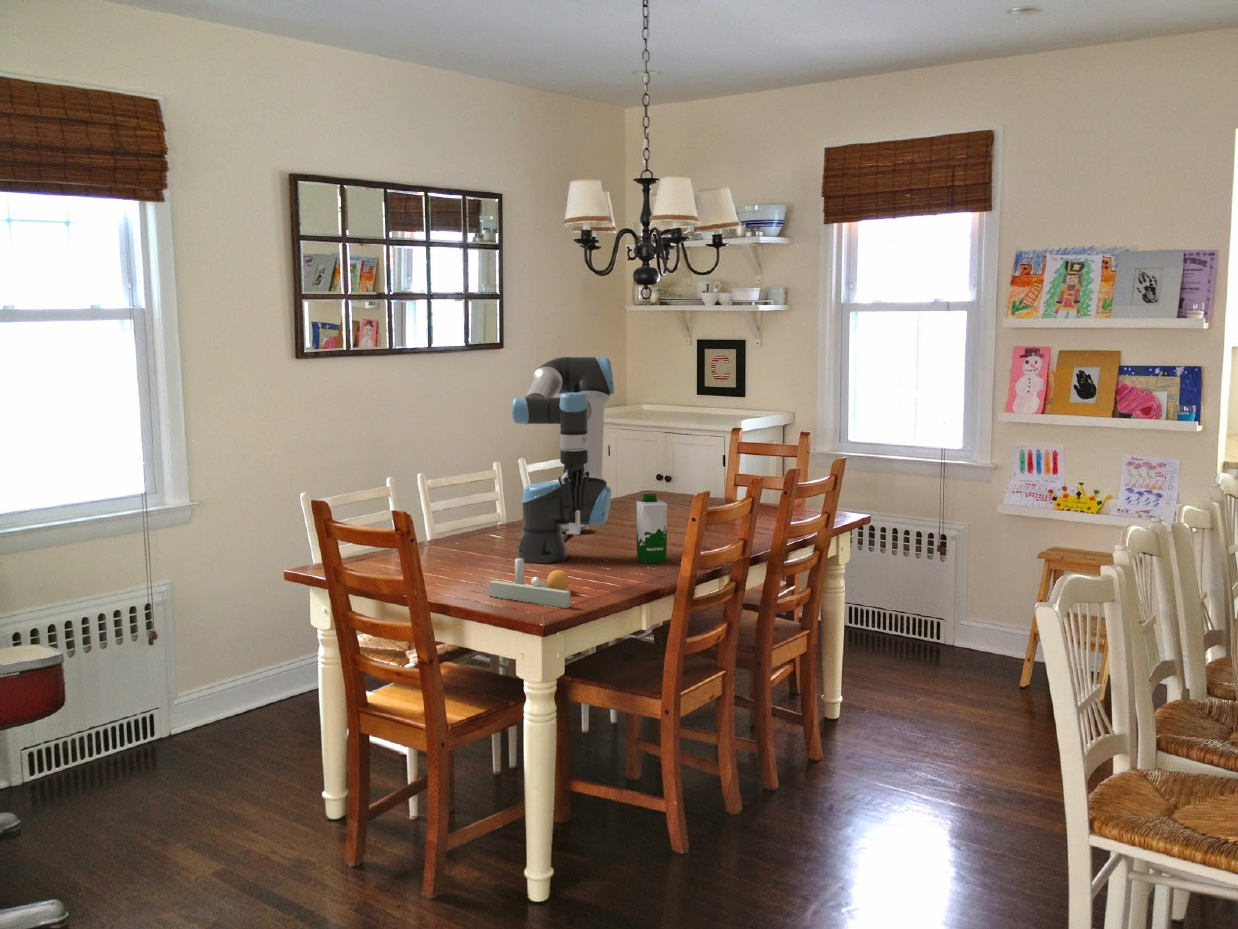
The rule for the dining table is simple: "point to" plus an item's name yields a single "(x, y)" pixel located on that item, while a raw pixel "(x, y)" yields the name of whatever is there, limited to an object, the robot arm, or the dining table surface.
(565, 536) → the spoon
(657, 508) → the milk carton
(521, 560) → the grey pin
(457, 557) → the dining table surface
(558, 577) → the ball
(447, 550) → the dining table surface
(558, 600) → the wall
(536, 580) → the pin
